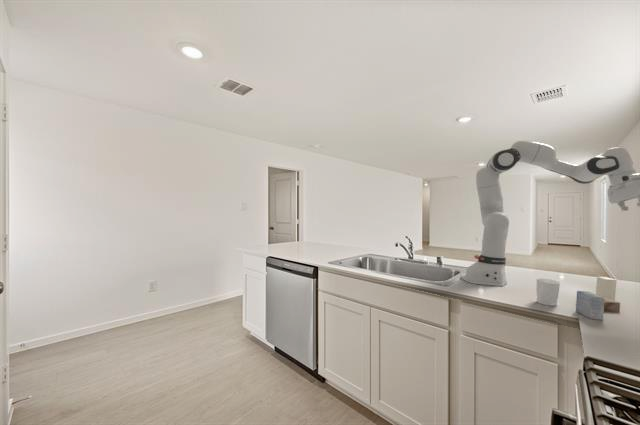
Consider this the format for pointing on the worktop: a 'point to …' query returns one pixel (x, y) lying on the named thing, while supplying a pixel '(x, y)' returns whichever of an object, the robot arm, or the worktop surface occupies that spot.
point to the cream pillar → (606, 287)
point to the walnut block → (611, 305)
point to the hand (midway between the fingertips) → (633, 208)
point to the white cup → (547, 291)
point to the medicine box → (590, 305)
